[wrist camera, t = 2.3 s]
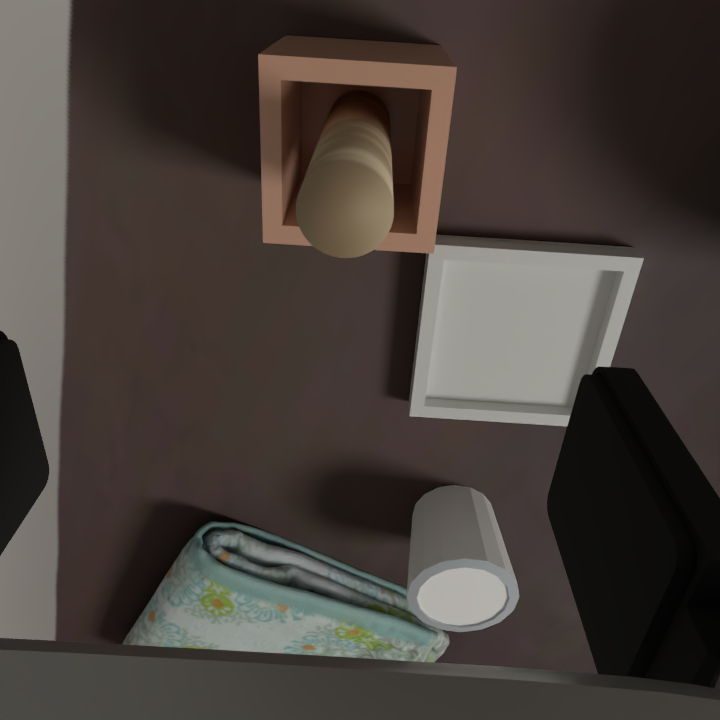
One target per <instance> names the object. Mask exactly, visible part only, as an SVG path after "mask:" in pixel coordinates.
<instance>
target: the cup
mask: <svg viewBox="0 0 720 720" xmlns="http://www.w3.org/2000/svg"><path fill="white" fill-rule="evenodd" d="M258 67H259V104H260V142H261V179H262V217H263V243H275V244H290V245H306V246H313V245H311V244H310V243H309V242H308V240H307V239H306V238H305V237H304V235H303V234H302V232H301V230H300V228H299V225H298V222H297V217H296V201H297V196H298V193H299V191H300V188H301V185H302V183H303V180H304V178H305V175H306V172H307V170H308V167H309V164H310V162H311V159H312V156H313V154H314V151H315V149H316V146H317V143H318V141H319V138H320V135H321V133H322V130H323V128H324V125H325V122H326V120H327V117H328V114H329V112H330V109H331V107H332V105H333V104H334V102H335V101H336V100H337V99H338V98H339V97H340V96H342V95H343V94H345V93H347V92H350V91H355V90H362V91H367V92H370V93H372V94H374V95H376V96H377V97H378V98H380V100H381V101H382V102H383V103H384V104H385V106H386V108H387V110H388V113H389V117H390V129H391V153H392V176H393V200H394V217H393V223H392V226H391V229H390V231H389V233H388V235H387V236H386V238H385V239H384V240H383V242H382V243H381V244H380V245H379V246H378V247H377V248H375V249H374V250H383V251H399V252H414V253H430V254H434V248H435V240H436V232H437V224H438V216H439V208H440V200H441V192H442V184H443V176H444V168H445V160H446V152H447V144H448V136H449V128H450V120H451V111H452V103H453V95H454V87H455V79H456V71H457V66H456V65H455V64H454V62H453V61H452V60H451V58H450V57H449V56H448V54H447V53H446V52H445V50H444V49H443V47H442V46H441V45H430V44H415V43H399V42H384V41H368V40H353V39H338V38H322V37H307V36H291V35H286V36H284V37H283V38H281V39H280V40H278V41H277V42H275V43H274V44H273V45H271V46H270V47H268V48H267V49H265V50H264V51H262V52H261V53H259V54H258Z"/></svg>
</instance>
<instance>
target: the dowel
mask: <svg viewBox="0 0 720 720" xmlns="http://www.w3.org/2000/svg"><path fill="white" fill-rule="evenodd" d="M296 217H297V222H298V225H299V228H300V230H301V232H302V234H303V235H304V237H305V238H306V239H307V240H308V242H309V243H310V244H311V245H313V246H314V247H315V248H316V249H318V250H319V251H321V252H323V253H325V254H327V255H330V256H333V257H338V258H354V257H358V256H362V255H364V254H367V253H369V252H371V251H372V250H374V249H375V248H377V247H378V246H379V245H380V244H381V243H382V242H383V240H384V239H385V238H386V236H387V235H388V233H389V231H390V229H391V226H392V223H393V217H394V200H393V176H392V153H391V129H390V117H389V113H388V110H387V108H386V106H385V104H384V103H383V102H382V101H381V100H380V98H378V97H377V96H376V95H374V94H372V93H370V92H367V91H362V90H355V91H350V92H347V93H345V94H343V95H342V96H340V97H339V98H338V99H337V100H336V101H335V102H334V104H333V105H332V107H331V109H330V112H329V114H328V117H327V120H326V122H325V125H324V128H323V130H322V133H321V135H320V138H319V141H318V143H317V146H316V149H315V151H314V154H313V156H312V159H311V162H310V164H309V167H308V170H307V172H306V175H305V178H304V180H303V183H302V185H301V188H300V191H299V193H298V196H297V201H296Z"/></svg>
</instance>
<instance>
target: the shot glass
mask: <svg viewBox="0 0 720 720" xmlns="http://www.w3.org/2000/svg"><path fill="white" fill-rule="evenodd" d="M518 599H519V591H518V585H517V581H516V578H515V575H514V572H513V569H512V566H511V563H510V560H509V557H508V554H507V551H506V548H505V545H504V542H503V539H502V536H501V533H500V530H499V527H498V524H497V521H496V518H495V515H494V512H493V509H492V506H491V503H490V502H489V501H488V499H487V498H486V497H485V496H484V495H483V494H482V493H480V492H478V491H476V490H474V489H472V488H470V487H465V486H458V485H450V486H444V487H438V488H436V489H434V490H432V491H430V492H428V493H426V494H424V495H423V496H422V497H421V498H420V500H419V501H418V502H417V503H416V504H415V508H414V511H413V515H412V528H411V542H410V556H409V570H408V584H407V600H408V603H409V606H410V610H411V611H412V612H413V613H414V614H415V615H416V616H417V617H418V618H419V619H420V620H421V621H422V622H424V623H426V624H428V625H431V626H433V627H435V628H438V629H440V630H448V631H456V632H465V631H474V630H481V629H484V628H487V627H489V626H492V625H494V624H497V623H499V622H501V621H502V620H503V619H504V618H505V617H507V616H508V615H509V614H510V613H511V612H513V610H514V608H515V606H516V604H517V601H518Z"/></svg>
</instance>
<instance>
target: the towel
mask: <svg viewBox="0 0 720 720" xmlns="http://www.w3.org/2000/svg"><path fill="white" fill-rule="evenodd" d="M123 644H124V645H142V646H160V647H178V648H196V649H214V650H232V651H249V652H267V653H284V654H302V655H319V656H336V657H352V658H368V659H384V660H401V661H417V662H433V663H434V662H435V661H436V660H437V659H438V658H439V657H440V656H441V655H442V654H443V653H444V651H445V650H446V648H447V646H448V645H449V635H448V634H447V633H445V632H443V631H442V630H440V629H438V628H435V627H433V626H431V625H428V624H426V623H424V622H422V621H421V620H420V619H419V618H418V617H417V616H416V615H415V614H414V613H413V612H412V611H411V610H410V606H409V603H408V600H407V589H406V588H404V587H402V586H399V585H397V584H395V583H392V582H389V581H387V580H384V579H381V578H379V577H377V576H374V575H372V574H369V573H367V572H364V571H361V570H358V569H356V568H354V567H351V566H349V565H347V564H344V563H342V562H340V561H337V560H335V559H332V558H330V557H328V556H326V555H323V554H321V553H318V552H316V551H314V550H311V549H309V548H306V547H304V546H302V545H300V544H297V543H294V542H291V541H289V540H286V539H284V538H282V537H279V536H277V535H274V534H272V533H269V532H266V531H263V530H260V529H258V528H254V527H251V526H247V525H243V524H239V523H234V522H216V521H213V522H209V523H207V524H205V525H204V526H202V527H201V528H200V529H198V530H197V532H196V533H195V535H194V537H193V538H191V539H190V540H189V542H188V543H187V545H186V546H185V547H184V548H183V549H182V551H181V552H180V554H179V556H178V558H177V559H176V561H175V562H174V564H173V565H172V566H171V568H170V569H169V571H168V573H167V574H166V576H165V577H164V579H163V580H162V582H161V583H160V585H159V587H158V588H157V590H156V592H155V593H154V595H153V597H152V598H151V600H150V601H149V603H148V604H147V606H146V607H145V609H144V611H143V612H142V614H141V615H140V617H139V618H138V620H137V621H136V623H135V624H134V626H133V627H132V628H131V630H130V631H129V633H128V635H127V636H126V638H125V640H124V642H123Z"/></svg>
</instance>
